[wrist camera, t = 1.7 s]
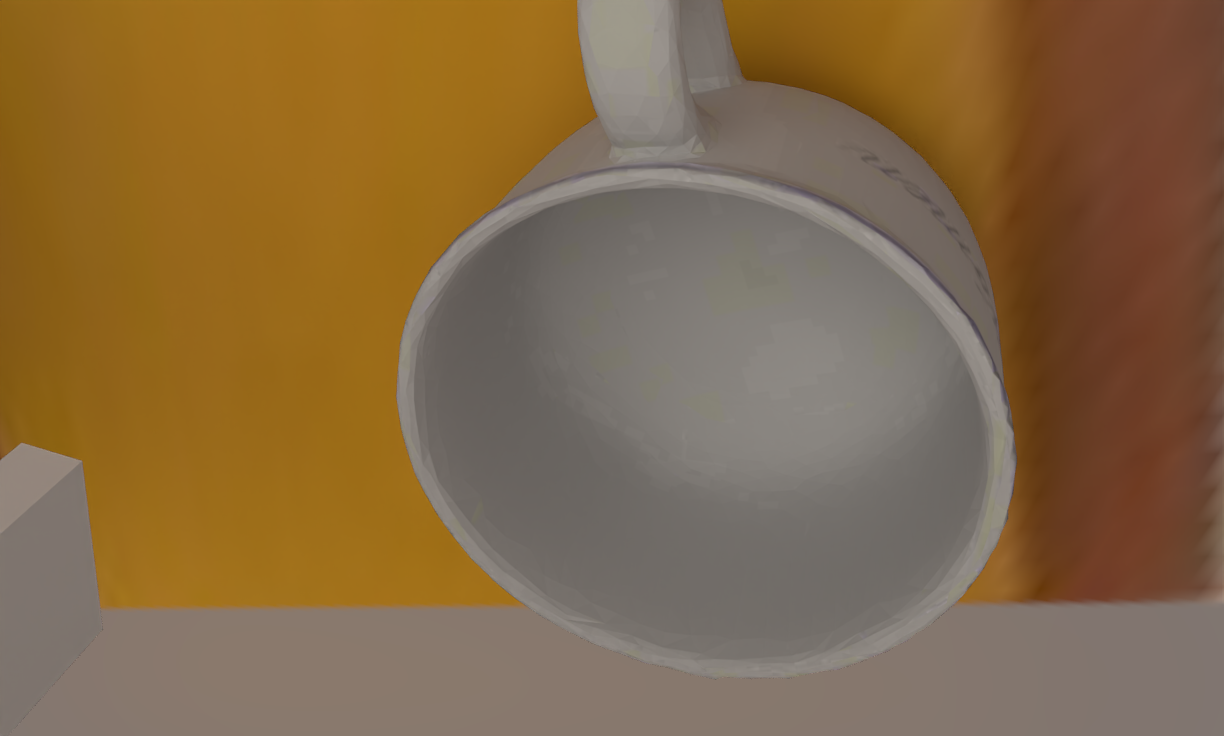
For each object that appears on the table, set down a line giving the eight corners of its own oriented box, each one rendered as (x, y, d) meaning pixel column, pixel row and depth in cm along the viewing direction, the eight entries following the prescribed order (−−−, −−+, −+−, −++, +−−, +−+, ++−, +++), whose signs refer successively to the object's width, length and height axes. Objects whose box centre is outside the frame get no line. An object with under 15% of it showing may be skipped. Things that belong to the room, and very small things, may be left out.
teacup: (935, 489, 27) (948, 743, 20) (518, 425, 29) (404, 639, 22) (1073, -117, 20) (1162, -31, 13) (506, -149, 22) (332, -88, 15)
